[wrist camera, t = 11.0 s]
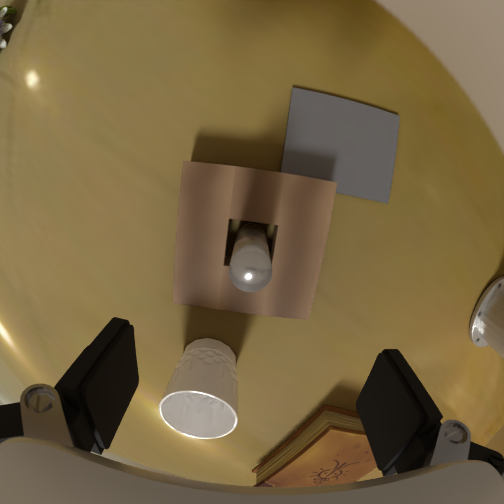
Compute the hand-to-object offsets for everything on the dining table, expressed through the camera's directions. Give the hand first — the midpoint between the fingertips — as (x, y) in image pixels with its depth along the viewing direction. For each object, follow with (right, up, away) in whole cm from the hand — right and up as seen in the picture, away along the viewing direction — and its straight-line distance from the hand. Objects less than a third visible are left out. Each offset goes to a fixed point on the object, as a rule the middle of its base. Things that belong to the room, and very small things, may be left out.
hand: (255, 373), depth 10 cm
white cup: (-5, -9, +24) cm, 26 cm away
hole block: (0, +6, +19) cm, 20 cm away
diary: (+13, -32, +31) cm, 46 cm away
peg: (0, +6, +19) cm, 20 cm away
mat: (+9, +15, +17) cm, 24 cm away
